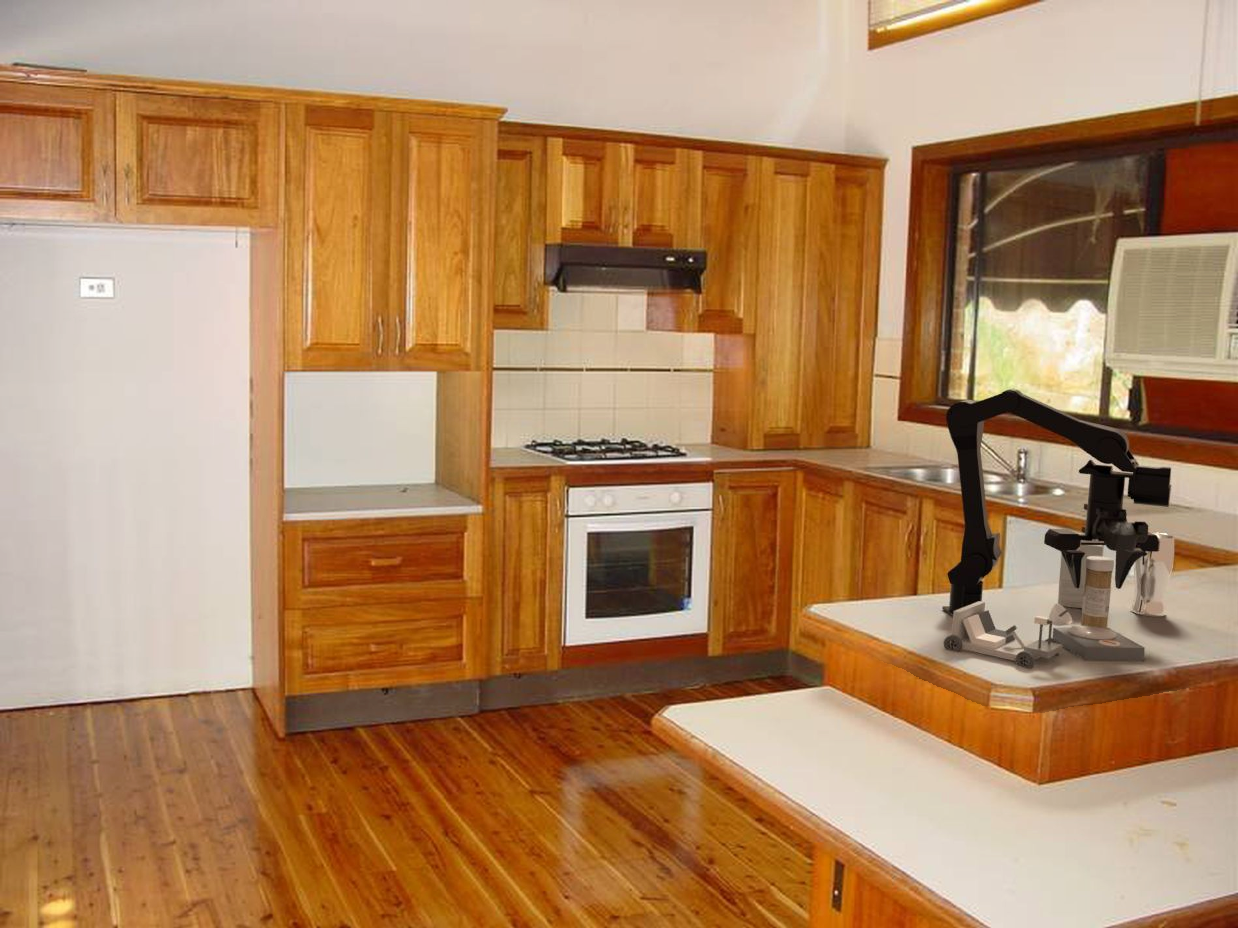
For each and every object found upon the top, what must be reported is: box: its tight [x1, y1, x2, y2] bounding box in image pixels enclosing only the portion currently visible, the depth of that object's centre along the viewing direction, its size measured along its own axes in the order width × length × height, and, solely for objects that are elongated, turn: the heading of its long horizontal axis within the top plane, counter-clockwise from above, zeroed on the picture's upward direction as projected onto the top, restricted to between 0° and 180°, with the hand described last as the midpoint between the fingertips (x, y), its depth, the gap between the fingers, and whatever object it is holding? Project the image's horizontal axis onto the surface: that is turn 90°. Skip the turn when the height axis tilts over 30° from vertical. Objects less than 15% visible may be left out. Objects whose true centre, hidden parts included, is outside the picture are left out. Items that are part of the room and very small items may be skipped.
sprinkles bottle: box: [1080, 556, 1115, 628], centre depth 221 cm, size 5×5×13 cm
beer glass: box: [1130, 531, 1175, 618], centre depth 237 cm, size 7×7×15 cm
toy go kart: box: [943, 600, 1073, 670], centre depth 206 cm, size 18×10×12 cm
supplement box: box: [1057, 545, 1105, 609], centre depth 242 cm, size 7×7×13 cm
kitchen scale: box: [1052, 625, 1146, 662], centre depth 210 cm, size 12×10×3 cm
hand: (1097, 588), depth 221 cm, fingers open, 7 cm apart
